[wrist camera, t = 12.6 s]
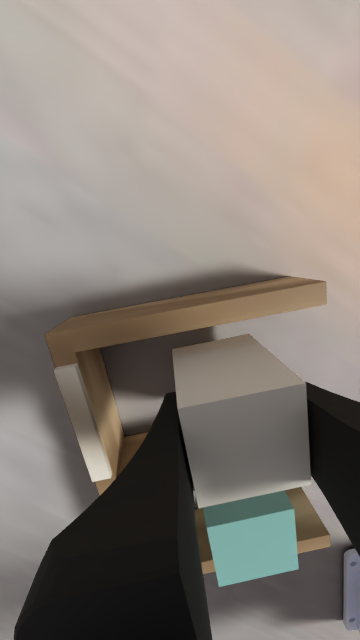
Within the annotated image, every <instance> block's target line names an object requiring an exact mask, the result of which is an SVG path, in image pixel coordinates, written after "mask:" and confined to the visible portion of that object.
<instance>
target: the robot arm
mask: <svg viewBox="0 0 360 640" xmlns="http://www.w3.org/2000/svg"><path fill="white" fill-rule="evenodd" d="M304 382H305V381H304ZM305 383H306V393H307V413H308V432H309V452H310V471H311V476H312V477H313V479H314V480H315V482H316V483H317V485H318V486H319V488H320V489H321V491H322V492H323V494H324V496H325V497H326V499H327V501H328V502H329V504H330V506H331V508H332V509H333V511H334V513H335V514H336V516H337V518H338V519H339V521H340V523H341V525H342V526H343V528H344V530H345V532H346V534H347V535H348V537H349V539H350V541H351V542H352V544H353V546H354V549H350V550H347V551H346V552H345V553H344V606H343V623H344V625H345V627H346V629H347V630H349V631H352V630H357V629H359V631H360V402H357V401H354V400H351V399H348V398H346V397H343V396H340V395H337V394H335V393H332V392H329V391H327V390H324V389H322V388H319V387H317V386H315V385H312V384H310V383H307V382H305ZM14 640H212V634H211V627H210V620H209V613H208V606H207V599H206V592H205V585H204V578H203V571H202V564H201V557H200V550H199V542H198V535H197V528H196V520H195V510H194V495H193V480H192V475H191V470H190V465H189V461H188V456H187V451H186V446H185V442H184V437H183V432H182V428H181V423H180V418H179V413H178V408H177V398H176V392H172V393H167V394H166V395H165V397H164V400H163V403H162V405H161V408H160V410H159V412H158V414H157V416H156V418H155V421H154V423H153V425H152V427H151V428H150V430H149V432H148V434H147V435H146V437H145V439H144V441H143V442H142V444H141V445H140V447H139V448H138V450H137V451H136V453H135V454H134V456H133V457H132V459H131V460H130V461H129V463H128V464H127V465H126V467H125V468H124V469H123V470H122V472H121V473H120V474H119V475H118V476H117V478H116V479H115V480H114V481H113V482H112V483H111V485H110V486H109V487H108V488H107V489H106V490H105V491H104V492H103V493H102V494H101V495H100V496H99V497H98V498H97V499H96V500H95V501H94V502H93V503H92V504H91V505H90V506H89V507H88V508H87V509H86V510H85V511H84V512H83V513H82V514H81V515H80V516H78V517H77V518H76V519H75V520H74V521H73V522H72V523H71V524H70V525H68V526H67V527H66V528H65V529H64V530H63V531H62V532H61V533H60V534H58V535H57V536H56V537H55V538H54V539H52V541H51V543H50V545H49V547H48V549H47V551H46V553H45V555H44V558H43V560H42V562H41V564H40V566H39V569H38V571H37V573H36V576H35V578H34V581H33V583H32V586H31V588H30V591H29V593H28V596H27V598H26V601H25V603H24V606H23V608H22V611H21V613H20V616H19V618H18V621H17V623H16V626H15V631H14Z"/></svg>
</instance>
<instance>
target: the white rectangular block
mask: <svg viewBox="0 0 360 640" xmlns="http://www.w3.org/2000/svg"><path fill="white" fill-rule="evenodd" d="M172 355H173V366H174V377H175V387H176V398H177V408H178V413H179V418H180V423H181V428H182V432H183V437H184V442H185V446H186V451H187V456H188V461H189V465H190V470H191V475H192V480H193V484H194V489H195V494H196V498H197V503H198V508H203V507H207V506H212V505H217V504H222V503H226V502H231V501H236V500H241V499H245V498H250V497H255V496H260V495H264V494H269V493H274V492H279V491H283V490H288V489H293V488H298V487H302V486H307V485H311V471H310V452H309V432H308V413H307V393H306V383H305V382H304V381H303V380H302V379H301V378H300V377H298V376H297V375H296V374H295V373H294V372H293V371H291V370H290V369H289V368H288V367H287V366H286V365H284V364H283V363H282V362H281V361H280V360H279V359H277V358H276V357H275V356H274V355H273V354H272V353H270V352H269V351H268V350H267V349H266V348H265V347H263V346H262V345H261V344H260V343H259V342H258V341H256V340H255V339H254V338H253V337H252V336H251V335H249V334H246V335H241V336H236V337H231V338H226V339H221V340H216V341H211V342H206V343H200V344H195V345H190V346H185V347H180V348H175V349H172Z"/></svg>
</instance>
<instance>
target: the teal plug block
mask: <svg viewBox="0 0 360 640" xmlns="http://www.w3.org/2000/svg"><path fill="white" fill-rule="evenodd" d="M203 509H204V515H205V521H206V527H207V532H208V537H209V542H210V547H211V551H212V556H213V561H214V566H215V570H216V575H217V580H218V585H219V587H222V586H226V585H231V584H235V583H240V582H244V581H248V580H253V579H257V578H262V577H266V576H271V575H275V574H279V573H284V572H288V571H293V570H297V569H299V567H298V553H297V540H296V526H295V513H294V507H293V506H292V504H291V502H290V500H289V498H288V496H287V494H286V492H285V490H283V491H279V492H274V493H269V494H264V495H260V496H255V497H250V498H245V499H241V500H236V501H231V502H226V503H222V504H217V505H212V506H207V507H203Z"/></svg>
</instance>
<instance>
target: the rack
mask: <svg viewBox="0 0 360 640" xmlns="http://www.w3.org/2000/svg"><path fill="white" fill-rule="evenodd" d="M326 304H327V296H326V281H320V280H312V279H305V278H298V277H291V276H289V277H283V278H278V279H273V280H267V281H262V282H257V283H251V284H246V285H241V286H235V287H230V288H225V289H219V290H214V291H209V292H203V293H198V294H193V295H187V296H182V297H177V298H171V299H166V300H161V301H155V302H150V303H145V304H139V305H134V306H129V307H123V308H118V309H113V310H107V311H102V312H97V313H91V314H86V315H81V316H75V317H71V318H69V319H68V320H66V321H65V322H63V323H62V324H60V325H58V326H57V327H55V328H54V329H52V330H51V331H49V332H48V333H46V334H44V336H45V339H46V342H47V345H48V348H49V351H50V354H51V356H52V359H53V362H54V365H55V369H54V370H53V371H54V374H55V377H56V379H57V382H58V385H59V388H60V391H61V394H62V397H63V399H64V402H65V405H66V408H67V411H68V414H69V417H70V420H71V422H72V425H73V428H74V431H75V434H76V437H77V440H78V442H79V445H80V448H81V451H82V454H83V457H84V460H85V462H86V465H87V468H88V471H89V474H90V477H91V480H92V482H95V484H96V487H97V489H98V492H99V495H101V494H102V493H103V492H104V491H105V490H106V489H107V488H108V487H109V486H110V485H111V483H112V482H113V481H114V480H115V479H116V478H117V476H118V475H119V474H120V473H121V472H122V470H123V469H124V468H125V467H126V465H127V464H128V463H129V461H130V460H131V459H132V457H133V456H134V454H135V453H136V451H137V450H138V448H139V447H140V445H141V444H142V442H143V441H144V439H145V437H146V435H147V434H148V432H146V433H141V434H137V435H132V436H127V437H125V436H124V432H123V429H122V425H121V422H120V418H119V415H118V411H117V408H116V404H115V401H114V397H113V394H112V390H111V387H110V383H109V380H108V376H107V372H106V369H105V365H104V362H103V358H102V355H101V351H100V348H101V347H106V346H111V345H116V344H122V343H127V342H132V341H137V340H143V339H148V338H153V337H158V336H163V335H169V334H174V333H179V332H184V331H190V330H195V329H200V328H205V327H210V326H216V325H221V324H226V323H231V322H237V321H242V320H247V319H252V318H258V317H263V316H268V315H273V314H278V313H284V312H289V311H294V310H299V309H305V308H310V307H315V306H320V305H326ZM285 492H286V494H287V496H288V498H289V500H290V502H291V504H292V506H293V507H294V513H295V526H296V540H297V553H298V554H299V553H303V552H308V551H312V550H317V549H322V548H326V547H330V534H329V532H328V531H327V529H326V528H325V526H324V524H323V523H322V521H321V519H320V518H319V516H318V514H317V513H316V511H315V509H314V508H313V506H312V504H311V503H310V501H309V499H308V498H307V496H306V495H305V493H304V491H303V490H302V488H301V487H299V488H295V489H290V490H285ZM195 520H196V528H197V535H198V542H199V550H200V557H201V564H202V571H203V574H206V573H211V572H216V570H215V566H214V561H213V556H212V551H211V547H210V542H209V537H208V532H207V527H206V521H205V515H204V509H203V508H199V509H195Z"/></svg>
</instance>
